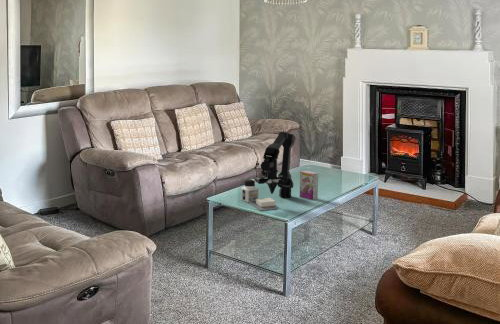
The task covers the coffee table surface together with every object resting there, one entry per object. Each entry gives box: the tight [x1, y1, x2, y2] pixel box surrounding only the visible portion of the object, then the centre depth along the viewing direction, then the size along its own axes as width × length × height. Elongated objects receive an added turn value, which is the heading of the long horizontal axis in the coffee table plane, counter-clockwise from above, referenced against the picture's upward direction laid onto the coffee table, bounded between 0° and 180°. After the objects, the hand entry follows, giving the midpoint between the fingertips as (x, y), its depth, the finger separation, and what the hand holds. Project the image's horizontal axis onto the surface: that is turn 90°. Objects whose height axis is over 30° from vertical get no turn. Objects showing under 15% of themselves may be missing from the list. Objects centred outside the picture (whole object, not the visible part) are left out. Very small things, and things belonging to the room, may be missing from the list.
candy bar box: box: [299, 170, 319, 201], centre depth 365 cm, size 11×5×16 cm, turn 43°
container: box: [240, 178, 259, 203], centre depth 360 cm, size 8×8×13 cm
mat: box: [248, 201, 278, 212], centre depth 348 cm, size 10×18×1 cm, turn 21°
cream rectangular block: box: [255, 197, 276, 207], centre depth 349 cm, size 3×8×9 cm
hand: (271, 193), depth 349 cm, fingers closed
